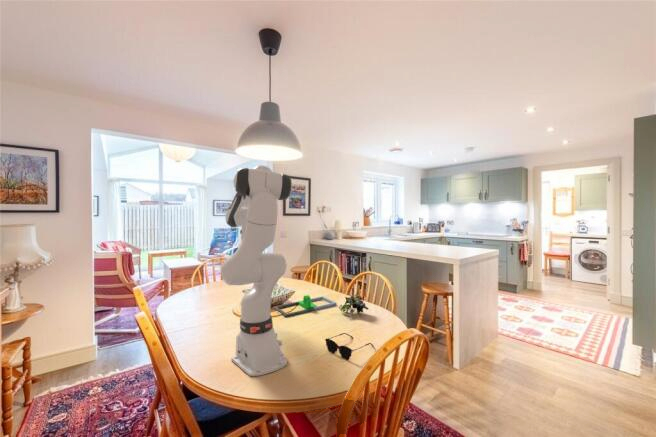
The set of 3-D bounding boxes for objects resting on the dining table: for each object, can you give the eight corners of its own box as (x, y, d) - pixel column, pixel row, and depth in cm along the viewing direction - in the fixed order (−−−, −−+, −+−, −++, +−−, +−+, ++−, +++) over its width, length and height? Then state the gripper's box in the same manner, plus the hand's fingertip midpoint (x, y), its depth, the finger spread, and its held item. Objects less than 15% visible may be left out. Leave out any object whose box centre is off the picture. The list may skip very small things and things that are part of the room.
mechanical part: (317, 309, 157) (316, 295, 157) (307, 311, 154) (307, 297, 154) (307, 303, 168) (307, 290, 167) (298, 305, 165) (298, 291, 164)
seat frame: (314, 310, 155) (314, 308, 155) (285, 317, 145) (285, 315, 145) (301, 302, 168) (301, 300, 168) (273, 308, 158) (273, 306, 158)
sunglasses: (324, 350, 111) (325, 337, 111) (350, 339, 122) (350, 328, 122) (351, 363, 101) (351, 349, 101) (376, 350, 113) (376, 337, 113)
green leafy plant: (358, 323, 151) (373, 305, 149) (348, 327, 141) (364, 307, 138) (342, 306, 158) (356, 289, 155) (332, 309, 147) (347, 290, 145)
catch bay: (336, 305, 163) (336, 302, 163) (314, 310, 155) (314, 307, 155) (322, 298, 176) (322, 296, 176) (301, 303, 168) (301, 300, 168)
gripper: (262, 232, 143) (262, 258, 143) (250, 230, 160) (250, 253, 160) (250, 232, 140) (250, 260, 140) (239, 230, 157) (239, 254, 157)
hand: (250, 256), depth 150 cm, fingers closed
